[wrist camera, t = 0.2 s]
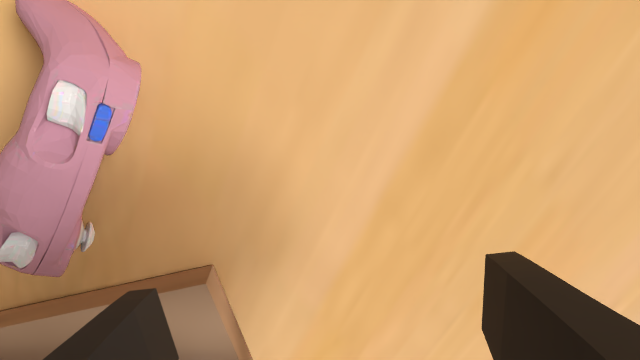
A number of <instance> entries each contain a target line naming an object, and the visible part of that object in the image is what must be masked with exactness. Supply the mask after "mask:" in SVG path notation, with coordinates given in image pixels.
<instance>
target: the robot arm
mask: <svg viewBox="0 0 640 360" xmlns="http://www.w3.org/2000/svg"><path fill="white" fill-rule="evenodd" d="M482 331H483V333H484V336H485V339H486V341H487V344H488V347H489V349H490V352H491V354H492V357H493V359H494V360H640V325H638V324H636V323H635V322H633V321H631V320H629V319H627V318H626V317H624V316H622V315H620V314H619V313H617V312H615V311H613V310H612V309H610V308H608V307H607V306H605V305H603V304H601V303H600V302H598V301H596V300H595V299H593V298H591V297H590V296H588V295H586V294H585V293H583V292H581V291H580V290H578V289H576V288H575V287H573V286H571V285H570V284H568V283H567V282H565V281H563V280H562V279H560V278H558V277H557V276H555V275H553V274H552V273H550V272H549V271H547V270H545V269H544V268H542V267H540V266H539V265H537V264H535V263H534V262H532V261H530V260H529V259H527V258H525V257H524V256H522V255H520V254H518V253H516V252H505V253H495V254H486V258H485V277H484V296H483V315H482ZM43 360H179V356H178V353H177V350H176V347H175V344H174V341H173V338H172V335H171V332H170V329H169V326H168V323H167V320H166V317H165V314H164V311H163V308H162V304H161V301H160V298H159V295H158V292H157V289H156V288H152V289H142V290H132V291H128V292H127V293H125V294H124V295H122V296H121V297H120V298H118V299H117V300H116V301H114V302H113V303H112V304H111V305H109V306H108V307H107V308H105V309H104V310H103V311H102V312H100V313H99V314H98V315H97V316H95V317H94V318H93V319H92V320H91V321H89V322H88V323H87V324H86V325H84V326H83V327H82V328H81V329H80V330H78V331H77V332H76V333H75V334H73V335H72V336H71V337H70V338H68V339H67V340H66V341H65V342H64V343H62V344H61V345H60V346H59V347H57V348H56V349H55V350H54V351H52V352H51V353H50V354H49V355H47V356H46V357H45V358H44V359H43Z"/></svg>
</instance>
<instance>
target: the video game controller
mask: <svg viewBox="0 0 640 360" xmlns="http://www.w3.org/2000/svg"><path fill="white" fill-rule="evenodd" d="M15 3H16V12H17V14H18V16H19V17H20V19H21V21H22V22H23V24H24V25H25V26H26V28H27V29H28V30H29V32H30V33H31V35H32V36H33V37H34V39H35V40H36V42H37V43H38V45H39V47H40V49H41V51H42V54H43V56H44V65H43V67H42V69H41V72H40V74H39V76H38V79H37V81H36V83H35V85H34V88H33V90H32V92H31V95H30V97H29V100H28V103H27V106H26V109H25V112H24V115H23V118H22V121H21V125H20V128H19V130H18V131H17V133H16V135H15V136H14V137H13V138H12V139H11V140H10V141H9V142H8V144H7V145H6V146H5V148H4V149H3V151H2V152H1V154H0V264H2V265H4V266H7V267H9V268H12V269H14V270H16V271H19V272H22V273H27V274H31V275H40V276H52V277H60V276H61V275H62V274H64V272H65V270H66V268H67V266H68V263H69V261H70V258H71V255H72V254H73V252H74V251H75V249H77V247H78V246H79V245H80V244H81V251H82V252H85V251H86V249H87V248H89V246H90V245H91V244H92V242H93V240H94V235H95V231H94V227H93V224H92V223H91V222H89V223H87V225H86V228H85V229H84V225H83V221H82V212H83V208H84V206H85V203H86V201H87V198H88V196H89V193H90V191H91V188H92V186H93V183H94V180H95V177H96V174H97V172H98V169H99V166H100V163H101V161H102V158H103V155H104V154H106V155H111V154H113V152H114V151H115V150H116V149H117V147H118V146H119V144H120V143H121V141H122V139H123V137H124V135H125V134H126V132H127V129H128V126H129V124H130V121H131V119H132V115H133V112H134V108H135V105H136V101H137V97H138V93H139V89H140V82H141V67H140V64H139V63H138V62H136V61H134V60H132V59H129V58H127V57H126V55H125V53H124V51H123V50H122V49H121V48H120V47H119V46H118V44H117V43H116V42H115V41H114V40H113V38H112V37H111V36H110V35H109V34H108V32H107V31H106V30H105V29H104V28H103V27H102V26H101V25H100V24H99V23H98V22H97V21H96V20H95V19H94V18H92V17H91V16H90V15H89V14H87V13H86V12H85V11H83V10H82V9H80V8H79V7H78V6H76V5H74V4H72V3H71V2H69V1H67V0H16V1H15Z"/></svg>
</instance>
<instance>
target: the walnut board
mask: <svg viewBox="0 0 640 360" xmlns="http://www.w3.org/2000/svg"><path fill="white" fill-rule="evenodd" d="M152 288H156V289H157V292H158V295H159V298H160V301H161V304H162V308H163V311H164V314H165V317H166V320H167V323H168V326H169V329H170V332H171V335H172V338H173V341H174V344H175V347H176V350H177V353H178V356H179V360H253V359H252V357H251V354H250V352H249V350H248V347H247V345H246V342H245V340H244V338H243V335H242V333H241V330H240V328H239V326H238V323H237V321H236V318H235V316H234V314H233V311H232V309H231V307H230V304H229V302H228V299H227V297H226V295H225V292H224V290H223V287H222V285H221V283H220V280H219V278H218V275H217V273H216V271H215V268H214V266H213V265H210V266H205V267H200V268H196V269H191V270H187V271H182V272H178V273H173V274H168V275H164V276H159V277H155V278H150V279H146V280H141V281H136V282H132V283H127V284H123V285H118V286H114V287H109V288H104V289H100V290H95V291H91V292H86V293H82V294H77V295H72V296H68V297H63V298H59V299H54V300H50V301H45V302H40V303H36V304H31V305H27V306H22V307H18V308H13V309H8V310H4V311H0V360H43V359H44V358H45V357H46V356H47V355H49V354H50V353H51V352H52V351H54V350H55V349H56V348H57V347H59V346H60V345H61V344H62V343H64V342H65V341H66V340H67V339H68V338H70V337H71V336H72V335H73V334H75V333H76V332H77V331H78V330H80V329H81V328H82V327H83V326H84V325H86V324H87V323H88V322H89V321H91V320H92V319H93V318H94V317H95V316H97V315H98V314H99V313H100V312H102V311H103V310H104V309H105V308H107V307H108V306H109V305H111V304H112V303H113V302H114V301H116V300H117V299H118V298H120V297H121V296H122V295H124V294H125V293H127V292H128V291H132V290H142V289H152Z"/></svg>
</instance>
